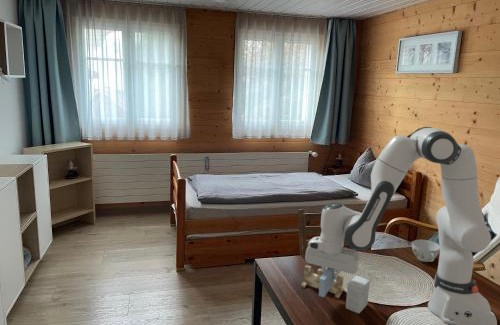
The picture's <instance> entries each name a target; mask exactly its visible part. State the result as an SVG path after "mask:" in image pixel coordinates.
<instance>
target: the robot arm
mask: <svg viewBox="0 0 500 325" xmlns="http://www.w3.org/2000/svg"><path fill="white" fill-rule="evenodd" d="M418 159H425V160H426V161H429V162H430V163H434V164H439V166H440V169H441V170H440V173H441V174H440V176H441V177H440V178H441V193H442V199H443V201H444V204H445V205H444V206H442V207H441V208H439V209H438V211H437V212H436V214H435V221H436V224H437V228H438V230H437V231H438V242H439V243H438V245H439V246H440V251H439V255H438V256H439V258H438V263H437V264H438V265H437V270H436V271H435V276H434V281H433V282H434V283H433V284H434V286H433V287H434V288H433V291H432V294H431V297H430V299H429V300H428V303H427V307H428V309H429V310H430V311H431V313H433V314H435V316H437V317H439V318H440V319H441V320H442V321H443V323H445V324H448V325H498V321H497V317H496V315H495V313H494V312H492V311H491V310H492V309H491V306H490V303H489V301H488V299H487V298H485V297H484V296H483V295H482V294H481V293H480V292H479V287H478V284H477V282H476V280H475V279H472V275H473V269H474V262H475V260H474V255H473V253H480V252H482V251H484V250H485V249H486V250H487V248H488V246H490V244H491V241H492V235H491V233H490V231H489V229H488V227H487V224H486V221H485V219H484V218H485V217H484V213H483V211H482V206H481V203H480V199H479V186H478V184H479V183H478V182H479V181H478V168H477V162H476V161H477V160H476V156H475V154H474V150H473V149H472V147H470V146H469V145H467V144H462V143H458V142H457V141H456V139H455V138H454V137H453V136H452V134H450V133H448V132H447V131H444V130H443V129H441V128H436V127H431V126H422V127H419V128H417V129H416V130H415V131H413V132H411V133H410V134H407V136H406V135H400V134H399V135H396V136H395V135H394V136H393V137H392V138H391V139H389V141H388V142H387V144H386V145H385V146H384V147H383V149H382V150H381V152H380V154H379V155H378V156H377V158H376V160H375V162H374V164H373V166H372V170H371V173H370V183H371V184H370V186H371V187H370V188H371V189H370V196H369V198H368V200H367V203H366V205H365V207H364V209H363V210H362V212H361V211H356V210H353V209H351V208H348V207H346V206H345V205H344V204H343V203H340V202H331V203H327V204H326V205H324V207H323V208H322V210H321V216H320V229H321V232H320V236H314V237H312V238H311V239H310V240H309V241H308V242H307V248H306V250H305V257H304V260H305V262H306V264H311V265H314V266H319V267H320V269H322V271H323V273H324V272H325V271H326V269H327V268H330V269H334V270H335V273H334V274H333V275H332V277H333V278H332V279H334V280H336V279H337V275H338V274H340V272H342V273H347V274H351V275H354V274H357V272H358V270H359V258H360V254H359V251H366V250H368V249H371V247H372V246H373V245H374V243H375V241H376V232H377V227H378V226H379V223H380V221H381V220H382V217H383V215H384V214H385V212H386V210H387V207H388V206H389V204H390V202H391V201H392V198H393V197H394V195H395V193H396V190H397V189H398V187H399V186H400V185H401V183H402V181H403V180H404V178H405V177H406V175H407V173H408V172H409V169H410V168H411V166H412V165H413V164H414V162H416V161H417V160H418ZM345 243H346V245H347V246H348V247H345V246H344V245H345Z"/></svg>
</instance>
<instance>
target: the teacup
mask: <svg viewBox="0 0 500 325" xmlns="http://www.w3.org/2000/svg"><path fill="white" fill-rule="evenodd" d="M411 248H412V249H411V250H412V252H413V254H414V256H415V257H416V259H417V260H419V261H420V262H422V263H429V262H434V261H435V259H436V258H437V257H438V256H439V255H440V246H439V243H436V242H435V241H431V240H428V239H415V240H413V241H411Z"/></svg>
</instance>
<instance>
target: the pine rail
mask: <svg viewBox="0 0 500 325" xmlns="http://www.w3.org/2000/svg"><path fill="white" fill-rule="evenodd" d="M316 272H317V273H313V272H312V265H308V264H306V265H305V266H304V269H303V281H302V282H301V284H300V287H301V288H303V289H304V288H306V287H307V286H309V287H311V288H315V289H318V290H319V278H320V277H321V276H322V275H323V271H322V269H321V268H318V269H317V270H316ZM343 286H344V274H340V273H338V275H337V279H336V280H335V279H334V284H333V285H332V286H331V288H330V289H329V291H328V292H329V293H332V294H334V298H336V299H339V298H340V297H341V295H342V294H343V293H344V291H345V287H343ZM328 292H327V293H328Z"/></svg>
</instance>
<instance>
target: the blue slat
mask: <svg viewBox="0 0 500 325" xmlns="http://www.w3.org/2000/svg"><path fill="white" fill-rule="evenodd" d="M334 273H335V274H336V272H335V270H334V269H330V268H326V271H325V272H324V273H323V275H322V276H321V277H320V278H319V289H318V296H319V297H321V298H325V297H326V295H327V294H328V291H329V289H330V288H331V286H332V285H333V284H334V280H335V279H332V278H333V277H332V275H333V274H334Z"/></svg>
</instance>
